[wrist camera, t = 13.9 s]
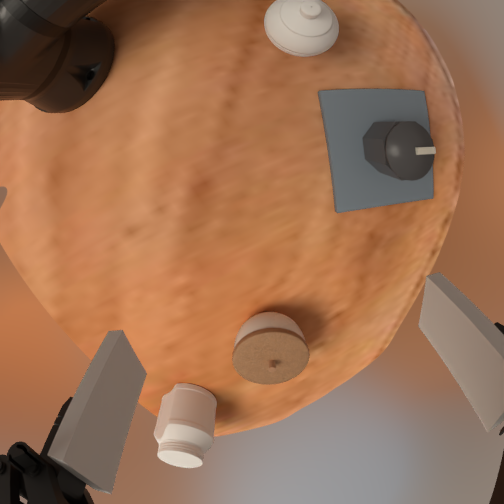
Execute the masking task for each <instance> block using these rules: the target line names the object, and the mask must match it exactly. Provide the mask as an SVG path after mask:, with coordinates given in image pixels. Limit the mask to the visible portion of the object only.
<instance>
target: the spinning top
mask: <svg viewBox="0 0 504 504" xmlns="http://www.w3.org/2000/svg"><path fill="white" fill-rule="evenodd" d="M264 27H265V31H266V34H267V36H268V38H269V39H270V41H271V42H272V43H273V44H274V45H275V46H276V47H277V48H279V49H280V50H282V51H284V52H286V53H288V54H291V55H294V56H300V57H310V56H315V55H319V54H321V53H323V52H325V51H327V50H328V49H330V48H331V47H332V46H333V44H334V43H335V41H336V39H337V37H338V34H339V24H338V20H337V17H336V15H335V14H334V12H333V11H332V9H331V8H330V7H329V6H328V5H327V4H325V3H324V2H323V1H321V0H276V1H275V2H274V3H273V4H272V5H271V6H270V7H269V8H268V10H267V12H266V14H265V18H264Z"/></svg>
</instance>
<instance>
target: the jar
mask: <svg viewBox="0 0 504 504" xmlns="http://www.w3.org/2000/svg"><path fill="white" fill-rule="evenodd" d="M216 407H217V401H216V398H215V397H214V395H213V394H212V393H211V392H209V391H208V390H206V389H204V388H202V387H200V386H197V385H193V384H188V383H177V384H176V385H175V386H174V388H173V390H172V391H171V392H169V393H167V394H165V395H164V396H163V397H162V403H161V407H160V411H159V415H158V419H157V423H156V427H155V430H154V436H155V438H156V440H157V442H158V444H159V449H158V457H159V458H160V459H161V460H162V461H164V462H166V463H168V464H171V465H174V466H178V467H184V468H195V467H199V466H201V465H202V464H203V456H204V453H206V452H207V451H208V450H209V449H210V448H211V446H212V445H213V443H214V426H215V414H216Z"/></svg>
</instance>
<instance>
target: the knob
mask: <svg viewBox="0 0 504 504" xmlns="http://www.w3.org/2000/svg"><path fill="white" fill-rule="evenodd" d="M362 140H363V147H364V155H365V160H366V161H367V162H369V163H370V164H371V165H372V166H373V167H374V168H375V169H376V170H377V171H378V172H379V173H382V174H385V175H388V176H391V177H393V178H396V179H399V180H401V181H403V180H410V181H414V180H418V179H421V178H422V177H424V176H425V175H426V174H427V173H428V172H429V170H430V169H431V167H432V164H433V161H434V154H436V148H435V147H434V145H433V141H432V139H431V136H430V135H429V133H428V132H427V130H426V129H425V128H424V127H423V126H421V125H420V124H418V123H417V122H416V121H393V122H373V124H372V125H371V127H370V128H369V129H368V131H367V132H366V134H365V135H364V136H363V138H362Z"/></svg>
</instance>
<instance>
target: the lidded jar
mask: <svg viewBox="0 0 504 504" xmlns="http://www.w3.org/2000/svg"><path fill="white" fill-rule="evenodd" d="M232 361H233V366H234V368H235V370H236V371H237V373H238V374H239V375H240V376H242V377H243V378H244V379H246V380H248V381H251V382H254V383H258V384H278V383H282V382H286V381H288V380H290V379H292V378H294V377H296V376H297V375H299V374H300V373H301V372H302V371H303V370H304V368H305V367H306V365H307V363H308V361H309V349H308V346H307V344H306V341H305V338H304V336H303V333H302V331H301V330H300V328H299V327H298V325H297V324H296V323H295V322H294V321H293V320H292V319H291V318H289V317H288V316H286V315H284V314H281V313H277V312H263V313H259V314H256V315H254V316H252V317H251V318H249V319H248V320H247V321H246V322H244V324H243V325H242V326H241V328H240V329H239V331H238V333H237V336H236V339H235V343H234V351H233V358H232Z"/></svg>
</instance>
